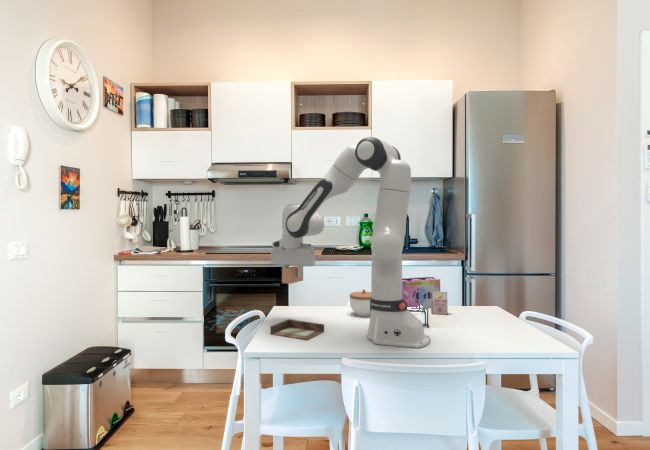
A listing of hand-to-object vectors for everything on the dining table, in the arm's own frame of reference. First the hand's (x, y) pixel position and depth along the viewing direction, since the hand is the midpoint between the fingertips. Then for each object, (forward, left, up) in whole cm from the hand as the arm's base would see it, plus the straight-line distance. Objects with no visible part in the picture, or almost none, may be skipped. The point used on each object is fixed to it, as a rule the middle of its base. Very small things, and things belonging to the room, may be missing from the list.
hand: (292, 276), depth 172 cm
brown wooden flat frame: (-12, +15, -19) cm, 27 cm away
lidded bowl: (-22, -24, -19) cm, 38 cm away
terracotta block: (0, 0, -2) cm, 2 cm away
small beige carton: (-51, -42, -19) cm, 69 cm away
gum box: (-38, -51, -19) cm, 66 cm away
